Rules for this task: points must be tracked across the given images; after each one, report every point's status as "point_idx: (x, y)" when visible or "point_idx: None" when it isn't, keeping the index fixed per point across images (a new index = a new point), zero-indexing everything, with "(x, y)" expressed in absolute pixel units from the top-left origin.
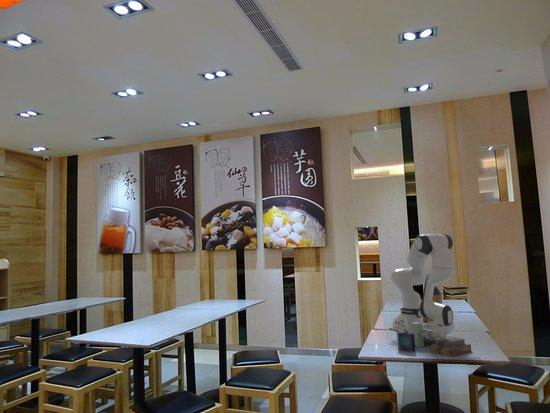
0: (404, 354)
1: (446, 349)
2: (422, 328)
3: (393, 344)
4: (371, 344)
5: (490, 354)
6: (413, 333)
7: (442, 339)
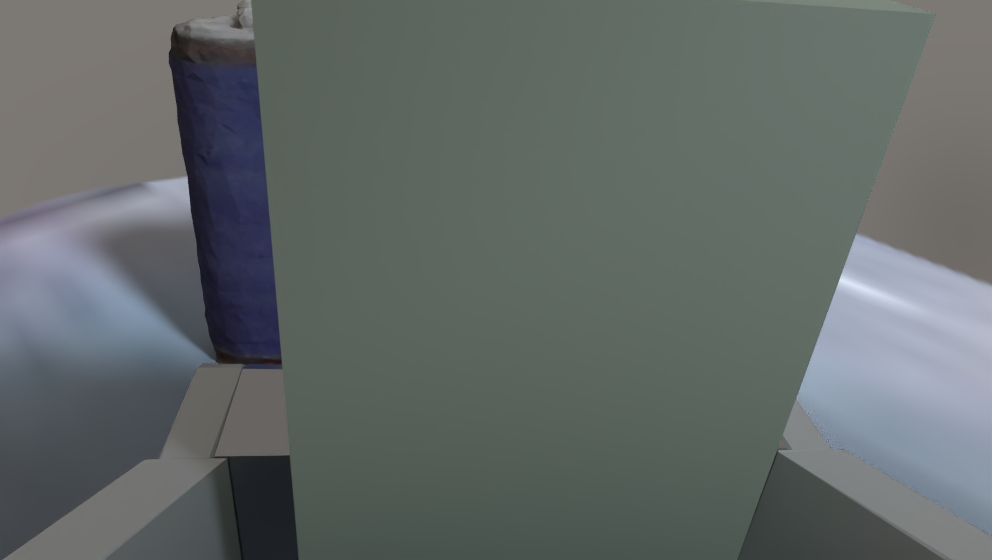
0: None
1: None
2: (289, 390)
3: (848, 441)
4: (922, 280)
5: None
6: (186, 28)
7: None
